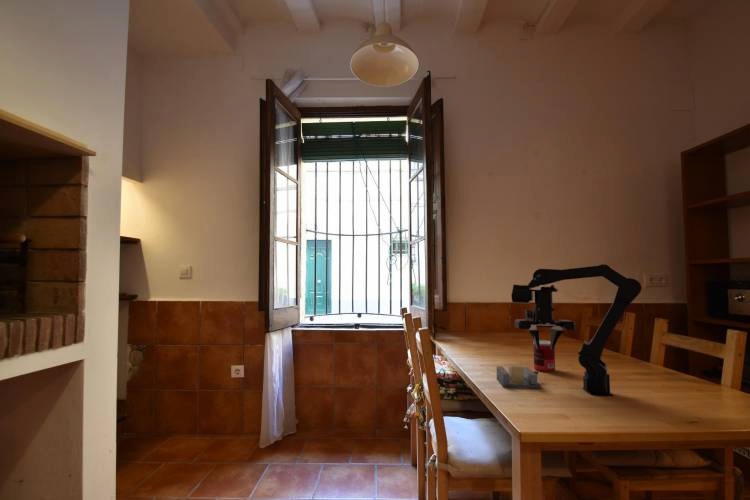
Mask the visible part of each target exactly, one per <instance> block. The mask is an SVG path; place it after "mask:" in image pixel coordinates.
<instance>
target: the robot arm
mask: <svg viewBox="0 0 750 500" xmlns="http://www.w3.org/2000/svg"><path fill="white" fill-rule="evenodd" d="M596 277H597V278H598V277H599V278H600V277H603V278H605V279H606V280H607V281H609V282H610V283H612V284H613V285H615V286H616V287H617V289H616V292H615V295H614V299H613V302H612V304H611V306H610V308H609V309H608V311H607V313H606V314H605V316H604V318H603V320H602V322H601V324H600V325H599V327H598V329H597V331H596V332H595V334H594V336H593V337H592V339H591V340H590V341H587V340H584V341H583V344H582V347H581V348H579V350H578V352H577V355H578V362H579V364H580V365H581V367H583V368H584V369H585V371H584V375H583V376H582V380H583V381H582V383H583V385H582V386H583V387H582V389H583V390H585V391H586V392H587V393H588V394H590V395H592V396H614V394H613V393H612V392H611V383H610V381H611V380H610V374H609V373H607V372H608V364H606V363H605V362H604V361H603V360H602V355H603V351H604V347H605V345H606V344H607V341H608V340H609V338H610V336H611V335H612V333H613V331H614V329H615V327H616V326H617V325H618V323H619V321H620V320H621V317H622V316H623V315H624V313H625V310H626V309H627V307H629V306H630V305H631V303H632V302H633V301H634V300H635V299H636V298H637V297H638V296H639V295H640V293H641V291H642V289H643V288H642V285H641V283H640V281H639V280H637V279H635V278H631V277H626V276H625V275H622V274H620V273H619V271H618V272H617V271H616V270H614V269H613V268H611V267H610V266H609V265H608V264H603V263H602V264H599V265H592V266H591V265H590V266H584V267H576V268H575V267H574V268H566V269H564V268H563V269H556V268H554V269H553V268H552V269H550V268H537V269H536V270H535V271H534V272H533V275H532V279H531V280H530V281H529V283H528V285H527V284H523V285H521V284H512V291H511V303H513V304H525V305H527V304H528V305H529V304H531V302H533V301H534V306H533V311H532V310H531V309H525V310H524V318H522V319H521V318H517V319H515V320H514V328H515V329H516V328H517V329H518V330H525V331H527V332H529V333H530V335H531V337H532V340H533V342H535V345H536V348H537V349H538V350H539V340H540V330H539V329H537V328H549V331H550V341H551V343H550V345H551V350H553V349H554V347H555V346H556V344H557V342H558V340H559V338H560V336H561V335H562V333H565V332H566V331H576V323H575V322H574V321H573V320H570V319H557V321H555V320H554V312H555V308H554V307H553V306H554V305H553V301H554V300H553V292H554V293H557V292H559V289H558V288H556V287H555V285H554V284H555V283H558V282H561V281H566V280H567V281H568V280H578V279H585V278H587V279H588V278H596ZM549 284H551V285H550V286H546V285H549ZM540 286H541V287H540ZM538 287H540V289H534V288H538ZM564 329H565V330H564ZM555 348H556V347H555Z"/></svg>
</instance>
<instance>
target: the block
mask: <svg viewBox="0 0 750 500" xmlns="http://www.w3.org/2000/svg"><path fill="white" fill-rule="evenodd" d="M524 367H525V366H523V365H522V364H518V363H508V373H509V376H510V380H511V381H512V382H524Z"/></svg>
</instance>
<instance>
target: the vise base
mask: <svg viewBox="0 0 750 500" xmlns="http://www.w3.org/2000/svg"><path fill="white" fill-rule="evenodd" d="M496 380H497V381H498V383H499V384H500V385H501V386H502V388H504V389H505V388H506V389H535V390H536V389H538V390H539V389H540V390H541V384H540V383H539V382H538V381H537V384H531V383H530V382H529V381H527V380H526V379H525V378H524V382H512V381H511V380H510V376H509V371H507V370H506V369H505V368H504V366H501V365H500V366H499V365H498V366H497V365H496Z"/></svg>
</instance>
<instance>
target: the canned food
mask: <svg viewBox="0 0 750 500" xmlns="http://www.w3.org/2000/svg"><path fill="white" fill-rule="evenodd" d="M550 343H551V340H543V339H542V340H540V339H539V350H538V349H537V348H536V345H535V342H534V341H533V348H532V349H533V367H534V368H533V369H534V370H535V371H538V372H540V373H541V372H542V373H554V372H555V370H556V351H555V348H556V347H554V349H553V350H551V345H550Z"/></svg>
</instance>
